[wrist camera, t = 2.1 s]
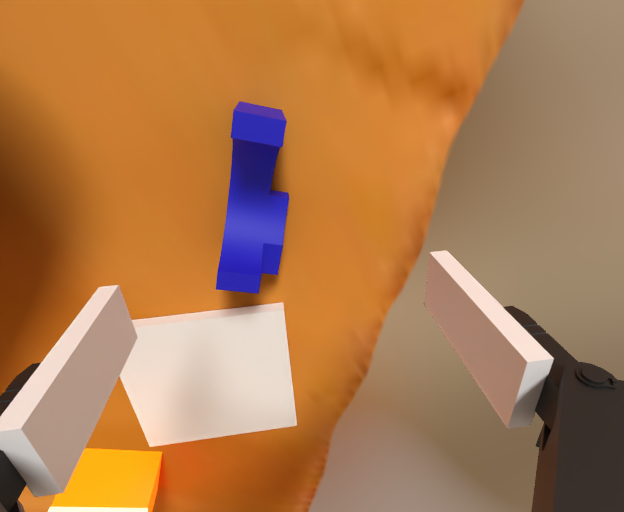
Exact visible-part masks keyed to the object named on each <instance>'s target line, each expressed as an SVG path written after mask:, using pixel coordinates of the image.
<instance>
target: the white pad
mask: <svg viewBox="0 0 624 512" xmlns="http://www.w3.org/2000/svg"><path fill="white" fill-rule="evenodd" d="M132 323H133V326H134V328H135V331H136V334H137V337H138V338H137V340H136V342H135V344H134V346H133V348H132V351H131V353H130V355H129V357H128V359H127V361H126V363H125V365H124V367H123V369H122V372H121V374H120V378H121V381H122V383H123V385H124V388H125V390H126V392H127V395H128V397H129V399H130V402H131V404H132V406H133V408H134V411H135V413H136V415H137V418H138V420H139V422H140V425H141V427H142V429H143V432H144V434H145V436H146V439H147V441H148V443H149V446H150V447H153V446H160V445H167V444H174V443H181V442H188V441H195V440H202V439H208V438H215V437H222V436H229V435H236V434H243V433H250V432H256V431H263V430H270V429H277V428H284V427H291V426H297V419H296V410H295V401H294V393H293V384H292V375H291V366H290V358H289V349H288V340H287V332H286V323H285V314H284V305H283V302H282V303H273V304H265V305H256V306H248V307H239V308H231V309H222V310H214V311H205V312H197V313H188V314H179V315H171V316H162V317H154V318H145V319H137V320H132Z"/></svg>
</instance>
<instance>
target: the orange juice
mask: <svg viewBox="0 0 624 512" xmlns="http://www.w3.org/2000/svg"><path fill="white" fill-rule="evenodd" d="M161 458H162V452H151V451H130V450H109V449H89V448H85V449H84V451H83V453H82V455H81V457H80V460H79V462H78V464H77V466H76V468H75V470H74V472H73V474H72V476H71V478H70V481H69V483H68V485H67V487H66V489H65V491H64V493H60V494H57V495H56V497H55V499H54V501H53V503H52V505H51V507H50V508H49V510H48V512H152V510H153V506H154V502H155V498H156V494H157V489H158V481H159V474H160V466H161Z"/></svg>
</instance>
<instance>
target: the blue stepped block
mask: <svg viewBox="0 0 624 512" xmlns="http://www.w3.org/2000/svg"><path fill="white" fill-rule="evenodd" d="M285 126H286V119H285V117H284V114H283V112H282V110H279V109H274V108H269V107H264V106H259V105H254V104H249V103H244V102H240V101H239V103H238V105H237V106H236V108H235V109H234V112H233V122H232V132H231V138H233V152H232V167H231V179H230V189H229V198H228V207H227V215H226V223H225V230H224V237H223V244H222V251H221V257H220V262H219V268H218V274H217V284H216V289H218V290H228V291H238V292H248V293H259V287H260V281H261V273H266V274H275V275H278V269H279V264H280V258H281V253H282V248H283V238H284V229H285V221H286V214H287V207H288V201H289V195H288V193H286V192H279V191H273V190H271V184H272V178H273V173H274V168H275V163H276V159H277V155H278V151H279V148H280V147H282V145H283V139H284V133H285Z"/></svg>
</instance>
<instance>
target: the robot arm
mask: <svg viewBox="0 0 624 512" xmlns="http://www.w3.org/2000/svg"><path fill="white" fill-rule="evenodd" d="M424 305H425V306H426V308H427V309H428V311H429V312H430V314H431V315H432V317H433V318H434V320H435V321H436V323H437V324H438V326H439V327H440V329H441V330H442V332H443V333H444V334H445V336H446V338H447V339H448V341H449V342H450V344H451V345H452V347H453V348H454V350H455V351H456V353H457V354H458V355H459V357H460V359H461V360H462V362H463V363H464V365H465V366H466V367H467V369H468V371H469V372H470V373H471V375H472V377H473V378H474V379H475V381H476V382H477V384H478V385H479V387H480V388H481V390H482V391H483V393H484V394H485V396H486V397H487V399H488V400H489V402H490V403H491V405H492V406H493V408H494V409H495V411H496V412H497V414H498V415H499V417H500V418H501V420H502V421H503V423H504V424H505V426H506V427H507V428H515V427H521V426H528V425H531V423H532V421H533V418H534V415H535V412H537V414H538V415H539V416H540V417H541V419H542V420H543V421H544V425H543V427H542V430H541V433H540V435H539V438H538V441H537V444H536V446H537V447H539V456H538V463H537V471H536V480H535V488H534V496H533V505H532V512H624V381H621V380H617V379H616V378H614V376H613V375H612V374H610V373H609V372H607V371H606V370H604V369H602V368H600V367H597V366H595V365H593V364H589V363H583V362H578V361H577V360H575V359H574V358H573V357H572V356H571V355H570V354H569V353H568V352H567V351H566V350H565V349H564V348H563V347H562V346H561V345H560V344H559V343H557V342H556V341H555V340H554V339H553V338H552V337H551V336H550V335H549V334H546V331H545V330H544V329H543V328H541V327H540V326H539V325H537V323H536V322H535V321H534V320H533V319H532V318H531V317H530V316H529V315H528V314H526V313H524V312H523V311H521V310H519V309H517V308H515V307H513V306H508V307H502V306H501V305H500V304H499V303H498V302H497V301H496V300H495V299H494V298H493V297H492V296H491V295H490V294H489V293H488V292H487V291H486V290H485V289H484V288H483V287H482V286H481V285H480V284H479V283H478V282H477V281H476V280H475V279H474V278H473V277H472V276H471V275H470V274H469V273H468V272H467V271H466V270H465V269H464V268H463V267H462V266H461V265H460V263H459V262H457V260H456V259H455V258H454V257H453V256H452V255H451V254H450V253H448V251H437V252H430V253H429V263H428V272H427V282H426V290H425V299H424ZM137 338H138V337H137V334H136V331H135V328H134V326H133V323H132V320H131V317H130V315H129V312H128V309H127V306H126V304H125V301H124V298H123V296H122V293H121V290H120V287H119V285H114V286H104V287H99V288H98V289H97V291H96V292H95V293H94V295H93V296H92V297H91V298H90V300H89V301H88V302H87V304H86V305H85V306H84V308H83V309H82V310H81V312H80V313H79V314H78V316H77V317H76V318H75V319H74V321H73V322H72V323H71V325H70V326H69V327H68V329H67V330H66V331H65V333H64V334H63V335H62V336H61V338H60V339H59V340H58V342H57V343H56V344H55V346H54V347H53V348H52V350H51V351H50V352H49V353H48V355H47V356H46V357H45V359H44V360H43V361H42V363H36V364H32V365H31V366H29V367H28V368H27V369H25V370H24V371H23V372H22V373H20V374H19V375H18V376H16V378H15V379H14V380H13V381H12V383H11V384H10V385H9V386H8V388H7V389H6V392H4V393H3V394H2V395H1V396H0V512H24V508H23V506H22V504H21V503H20V502H19V501H18V498H19V496H20V494H21V493H22V491H23V489H24V487H25V486H26V485H27V487H28V488H29V490H30V491H31V492H32V494H33V495H34V496H35V497H39V496H46V495H53V494H60V493H64V491H65V489H66V487H67V485H68V483H69V481H70V478H71V476H72V474H73V472H74V470H75V468H76V466H77V464H78V462H79V460H80V457H81V455H82V453H83V451H84V449H85V447H86V445H87V443H88V441H89V439H90V437H91V434H92V432H93V430H94V428H95V426H96V424H97V422H98V420H99V418H100V416H101V413H102V411H103V409H104V407H105V405H106V403H107V401H108V399H109V397H110V395H111V392H112V390H113V388H114V386H115V384H116V382H117V380H118V378H119V376H120V374H121V372H122V369H123V367H124V365H125V363H126V361H127V359H128V357H129V355H130V353H131V351H132V348H133V346H134V344H135V342H136V340H137Z"/></svg>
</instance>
